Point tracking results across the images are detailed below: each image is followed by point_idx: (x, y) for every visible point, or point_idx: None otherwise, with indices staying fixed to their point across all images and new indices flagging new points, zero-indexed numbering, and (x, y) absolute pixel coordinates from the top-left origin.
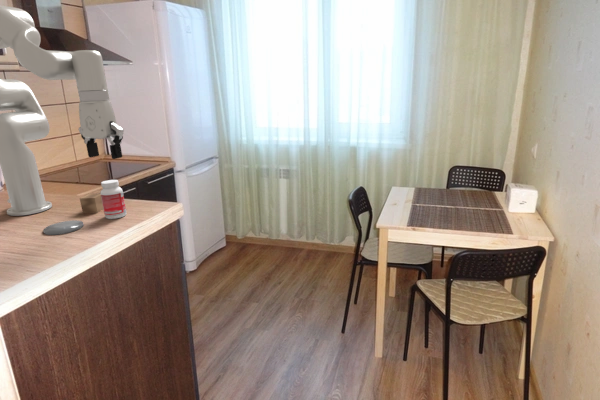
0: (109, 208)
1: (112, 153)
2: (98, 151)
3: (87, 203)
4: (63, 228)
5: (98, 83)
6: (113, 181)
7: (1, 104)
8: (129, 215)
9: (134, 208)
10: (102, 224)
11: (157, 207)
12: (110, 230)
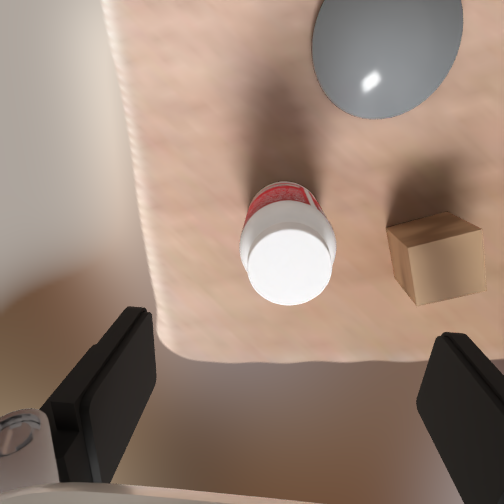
0: (270, 190)
1: (105, 334)
2: (431, 435)
3: (436, 230)
4: (366, 20)
5: None
6: (267, 274)
7: None
8: None
9: None
10: (263, 131)
11: (212, 318)
12: (181, 89)
